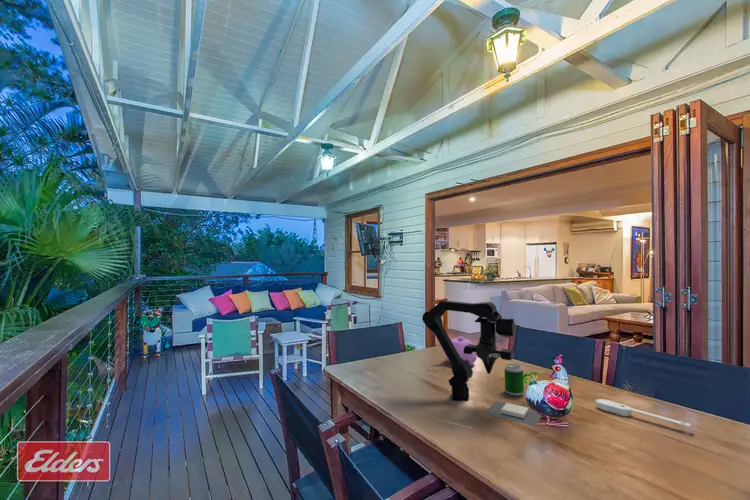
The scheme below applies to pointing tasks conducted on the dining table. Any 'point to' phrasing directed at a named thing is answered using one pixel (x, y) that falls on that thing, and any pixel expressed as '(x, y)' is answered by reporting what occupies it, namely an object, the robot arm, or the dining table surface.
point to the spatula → (629, 410)
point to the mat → (529, 419)
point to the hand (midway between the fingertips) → (488, 373)
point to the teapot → (460, 345)
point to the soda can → (514, 379)
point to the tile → (515, 410)
